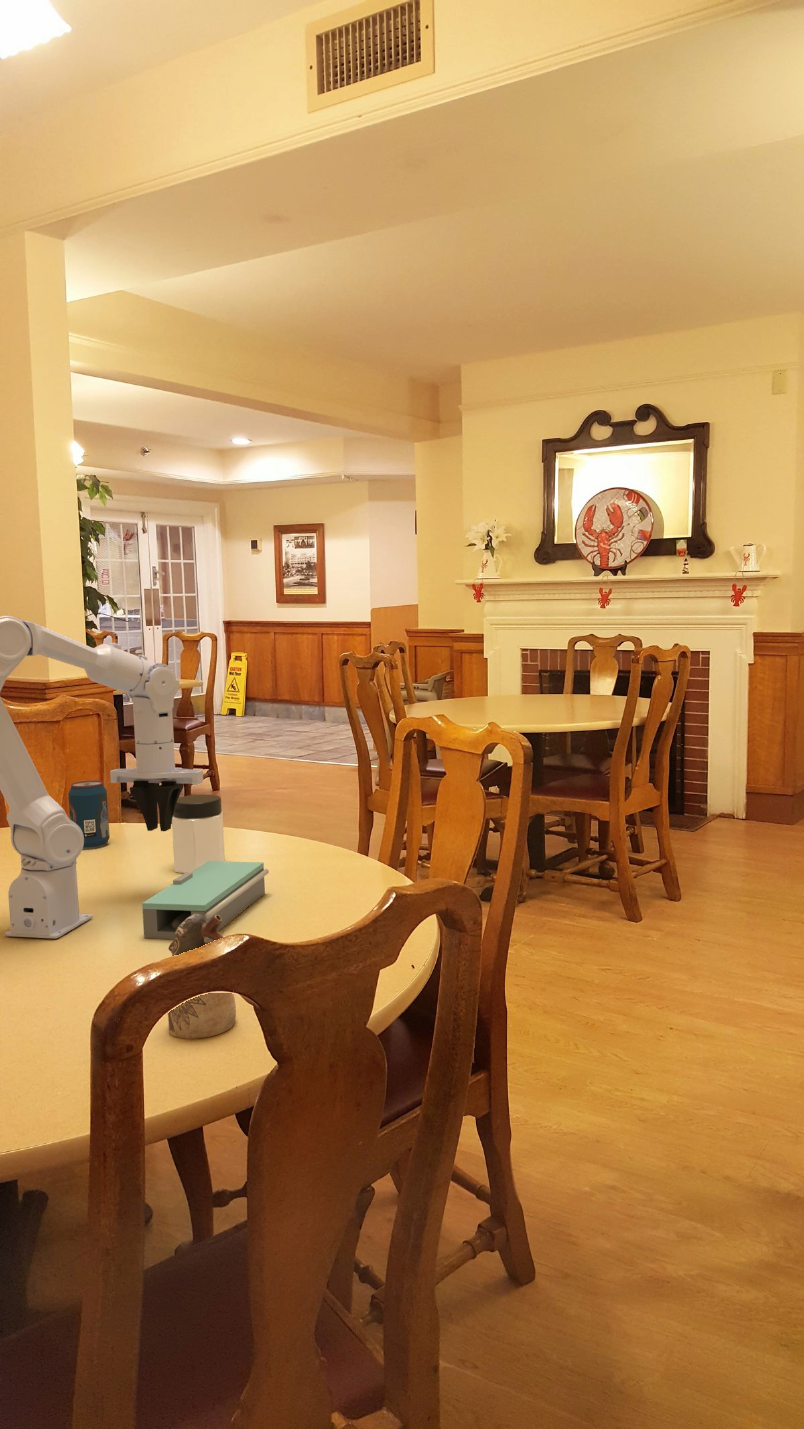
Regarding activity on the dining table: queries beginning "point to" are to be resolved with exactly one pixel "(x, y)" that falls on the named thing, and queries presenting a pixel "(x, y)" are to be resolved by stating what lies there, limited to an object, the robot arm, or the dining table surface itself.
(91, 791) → the soda can
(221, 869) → the duct lid
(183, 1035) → the figurine
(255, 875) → the cable duct
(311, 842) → the dining table surface
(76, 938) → the dining table surface
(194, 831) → the jar
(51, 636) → the robot arm
